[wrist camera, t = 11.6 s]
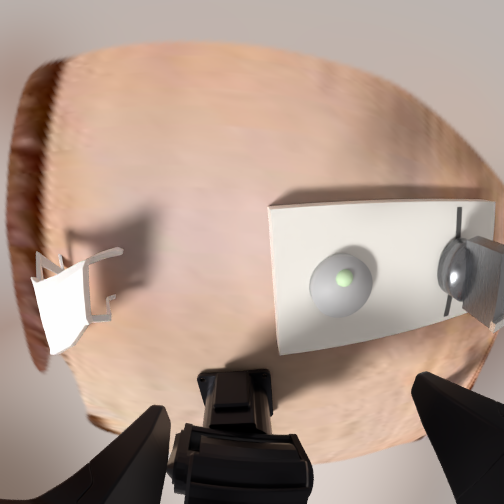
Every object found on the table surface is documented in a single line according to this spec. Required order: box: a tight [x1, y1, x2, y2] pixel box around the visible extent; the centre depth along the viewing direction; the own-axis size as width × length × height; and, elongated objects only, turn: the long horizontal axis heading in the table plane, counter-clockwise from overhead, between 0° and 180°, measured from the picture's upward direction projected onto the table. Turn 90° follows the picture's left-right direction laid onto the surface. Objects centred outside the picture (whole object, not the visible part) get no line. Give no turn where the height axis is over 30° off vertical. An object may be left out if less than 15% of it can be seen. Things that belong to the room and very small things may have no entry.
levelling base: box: [267, 199, 495, 355], centre depth 19 cm, size 11×22×4 cm, turn 95°
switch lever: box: [437, 236, 504, 333], centre depth 15 cm, size 5×6×6 cm
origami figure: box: [31, 247, 123, 355], centre depth 18 cm, size 12×8×5 cm
